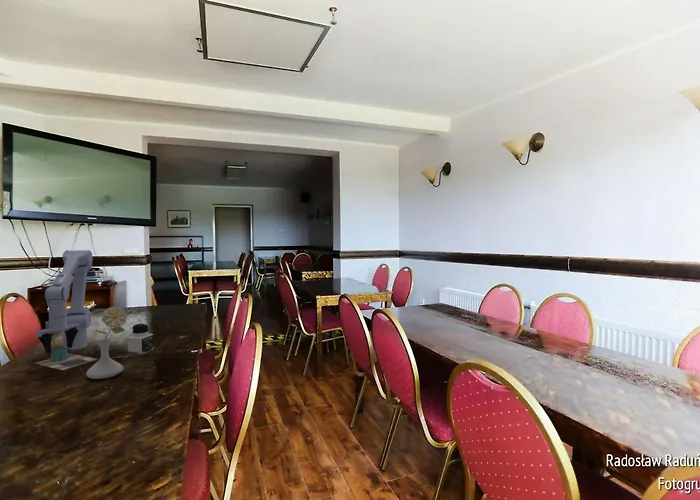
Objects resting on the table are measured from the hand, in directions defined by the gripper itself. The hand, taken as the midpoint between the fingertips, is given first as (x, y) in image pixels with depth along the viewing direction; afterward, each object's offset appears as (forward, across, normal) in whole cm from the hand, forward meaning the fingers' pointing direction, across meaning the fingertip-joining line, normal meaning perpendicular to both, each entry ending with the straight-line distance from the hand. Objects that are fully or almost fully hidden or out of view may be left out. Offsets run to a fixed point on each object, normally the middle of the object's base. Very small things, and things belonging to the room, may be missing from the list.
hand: (59, 350), depth 151 cm
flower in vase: (+5, -1, -31) cm, 32 cm away
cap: (+4, 0, 0) cm, 4 cm away
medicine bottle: (+5, +23, -17) cm, 29 cm away
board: (+5, 0, -4) cm, 7 cm away
